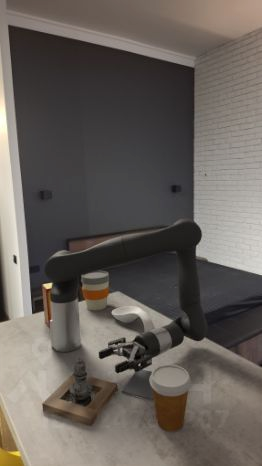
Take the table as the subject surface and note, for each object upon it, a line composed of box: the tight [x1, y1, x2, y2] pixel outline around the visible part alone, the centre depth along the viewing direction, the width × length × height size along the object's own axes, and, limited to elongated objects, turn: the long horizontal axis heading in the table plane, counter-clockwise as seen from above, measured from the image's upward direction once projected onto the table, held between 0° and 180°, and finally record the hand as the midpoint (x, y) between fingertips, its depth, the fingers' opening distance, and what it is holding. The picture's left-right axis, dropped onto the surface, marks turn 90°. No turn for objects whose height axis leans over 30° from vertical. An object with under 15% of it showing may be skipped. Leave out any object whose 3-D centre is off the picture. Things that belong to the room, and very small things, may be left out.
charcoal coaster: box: [121, 369, 154, 402], centre depth 89 cm, size 11×11×1 cm
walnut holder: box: [42, 372, 119, 427], centre depth 84 cm, size 14×14×2 cm
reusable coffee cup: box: [80, 270, 110, 311], centre depth 144 cm, size 13×13×15 cm
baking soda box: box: [41, 282, 52, 328], centre depth 130 cm, size 10×6×16 cm
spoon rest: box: [111, 305, 156, 333], centre depth 126 cm, size 24×12×7 cm, turn 32°
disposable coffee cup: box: [149, 364, 192, 433], centre depth 75 cm, size 10×10×12 cm
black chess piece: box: [70, 357, 93, 407], centre depth 83 cm, size 6×6×12 cm
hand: (107, 362), depth 87 cm, fingers open, 8 cm apart
